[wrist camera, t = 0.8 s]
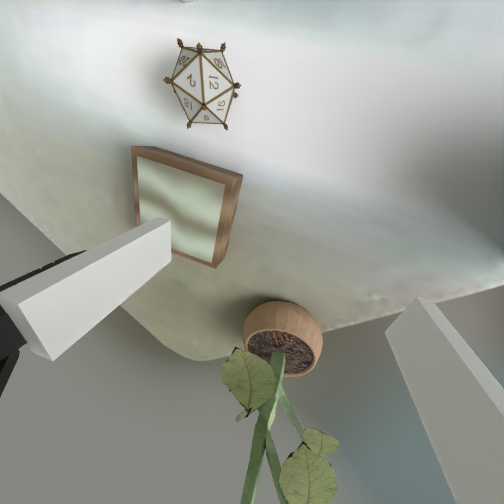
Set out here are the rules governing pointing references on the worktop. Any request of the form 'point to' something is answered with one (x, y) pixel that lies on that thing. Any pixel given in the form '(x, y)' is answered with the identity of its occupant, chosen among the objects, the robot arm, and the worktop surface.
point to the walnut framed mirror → (186, 201)
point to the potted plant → (280, 400)
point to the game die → (203, 84)
